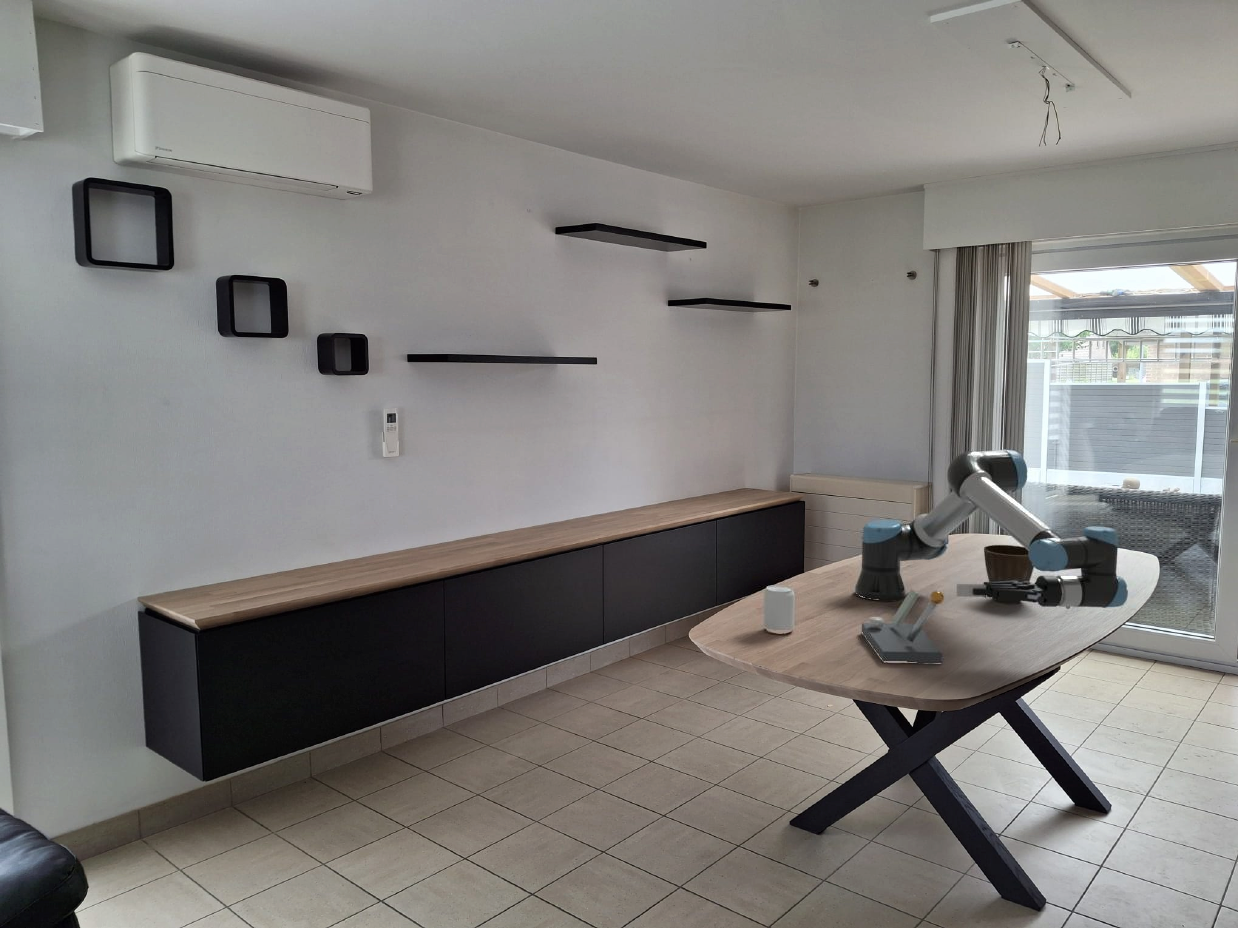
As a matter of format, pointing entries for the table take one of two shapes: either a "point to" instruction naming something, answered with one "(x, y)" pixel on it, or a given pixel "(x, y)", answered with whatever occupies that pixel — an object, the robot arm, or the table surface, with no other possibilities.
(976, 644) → the table surface
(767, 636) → the table surface
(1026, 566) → the plant pot
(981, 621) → the table surface
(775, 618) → the beverage can
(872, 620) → the white push button
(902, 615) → the sage paddle
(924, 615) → the steel toggle lever
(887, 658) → the switch panel
